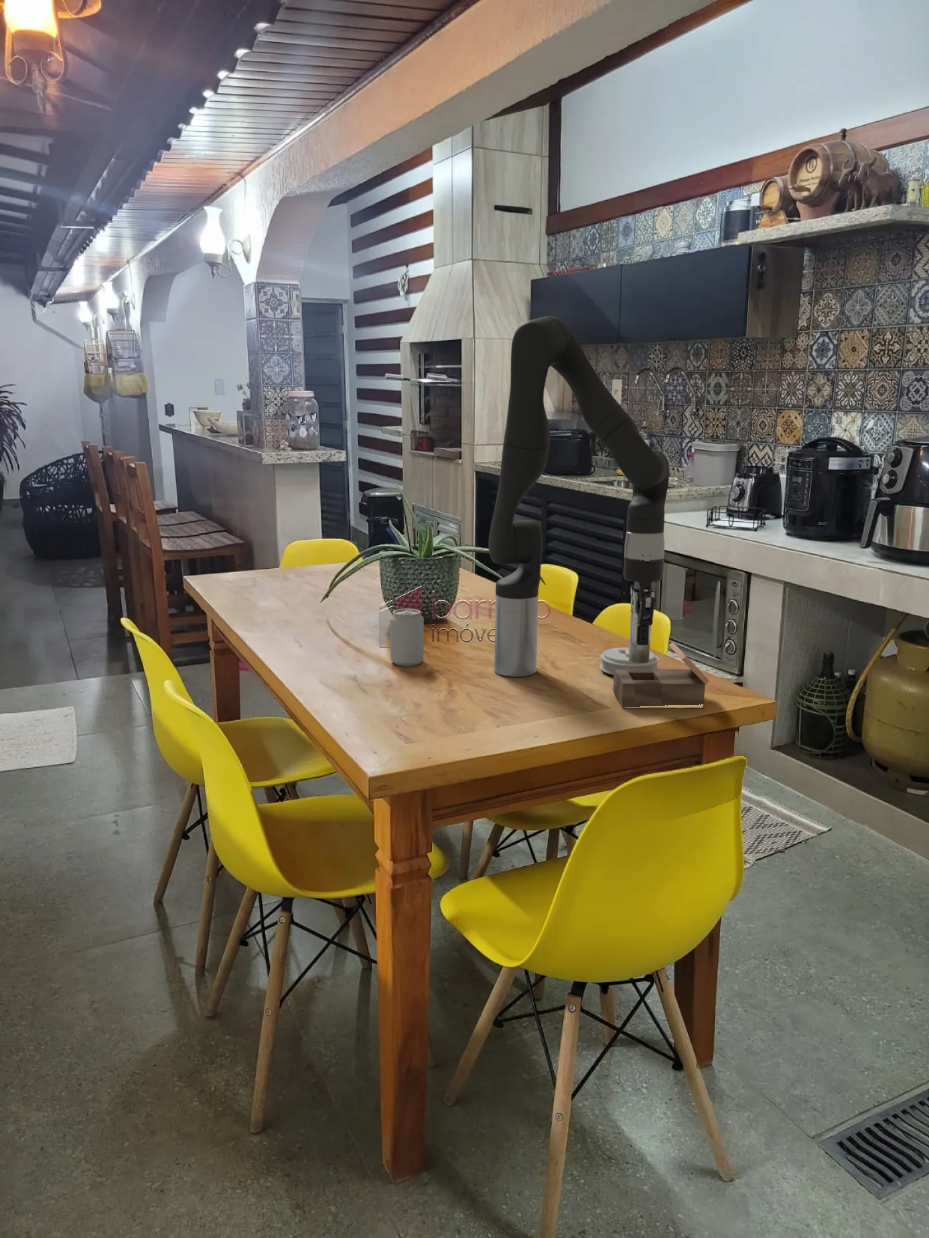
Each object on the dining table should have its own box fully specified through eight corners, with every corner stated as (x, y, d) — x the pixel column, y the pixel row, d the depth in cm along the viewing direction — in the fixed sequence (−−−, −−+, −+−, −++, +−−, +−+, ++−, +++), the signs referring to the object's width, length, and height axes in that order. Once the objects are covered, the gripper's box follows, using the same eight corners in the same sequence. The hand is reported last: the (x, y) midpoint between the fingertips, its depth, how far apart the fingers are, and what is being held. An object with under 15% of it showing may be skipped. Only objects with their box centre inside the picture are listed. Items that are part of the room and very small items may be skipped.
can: (385, 665, 215) (384, 612, 212) (398, 656, 222) (398, 606, 219) (415, 668, 213) (415, 615, 210) (428, 660, 219) (428, 608, 217)
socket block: (613, 692, 197) (614, 669, 196) (690, 692, 197) (692, 669, 196) (621, 708, 187) (622, 683, 186) (703, 708, 187) (705, 683, 186)
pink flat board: (668, 645, 195) (672, 641, 195) (691, 668, 196) (695, 665, 196) (681, 659, 184) (685, 656, 184) (705, 684, 186) (709, 681, 186)
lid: (669, 673, 212) (670, 651, 210) (635, 684, 203) (637, 662, 202) (621, 661, 220) (622, 640, 219) (587, 672, 211) (588, 650, 210)
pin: (627, 657, 191) (629, 603, 188) (647, 658, 191) (650, 603, 188) (630, 663, 187) (632, 607, 185) (651, 663, 187) (653, 607, 185)
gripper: (619, 549, 191) (615, 633, 195) (630, 560, 177) (626, 650, 181) (656, 549, 191) (652, 633, 195) (671, 561, 177) (666, 651, 181)
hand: (640, 641), depth 188 cm, fingers closed on pin, 4 cm apart
